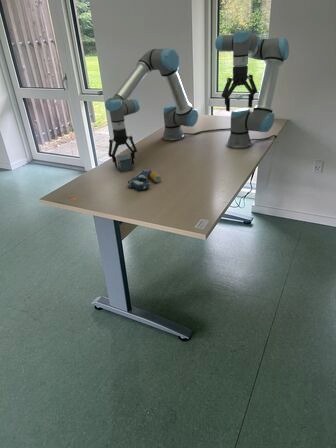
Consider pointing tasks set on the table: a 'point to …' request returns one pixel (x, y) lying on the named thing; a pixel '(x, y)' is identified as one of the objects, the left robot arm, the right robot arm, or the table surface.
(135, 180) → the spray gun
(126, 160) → the brick
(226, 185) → the table surface
